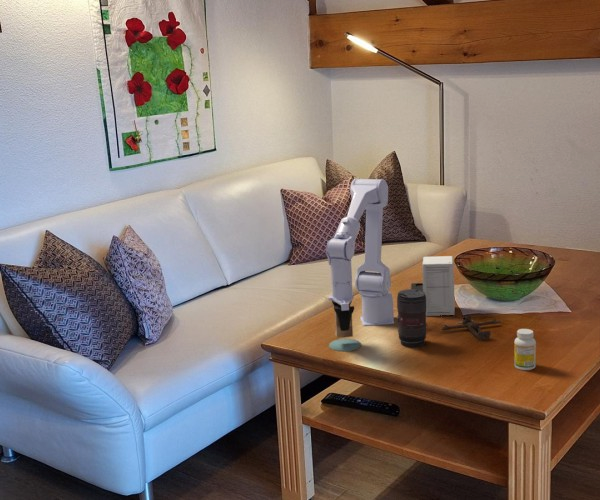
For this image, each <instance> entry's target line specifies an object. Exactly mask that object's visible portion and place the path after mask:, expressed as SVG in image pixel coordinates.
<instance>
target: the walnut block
mask: <svg viewBox="0 0 600 500" xmlns="http://www.w3.org/2000/svg"><path fill="white" fill-rule="evenodd" d="M334 321H335V325H334V326H335V327H334V328H335V332H336V334H335V336H336V335H337V336H336V338H337V339H341V338H351V337H352V338H353V337H354V334H353V333H354V332H353V315H352V316H351V320H350V326H349V330H346V331H341V328H340V324H339V319H338V316H337V314H336V312H335V311H334Z"/></svg>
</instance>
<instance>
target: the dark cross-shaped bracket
mask: <svg viewBox="0 0 600 500" xmlns="http://www.w3.org/2000/svg"><path fill="white" fill-rule="evenodd" d="M500 323H501V321H500V320H498V319H496V318H494V319H492V320H490V321H483V322H482V321H481V322H479V321H478V322H475V321H474V320H473V319H472V316H471V315H469V314H467V315H466V316H464V317H463V318H462V320H460V321H458V324H459V325H447V324H445V325H444V326H443V327H441V331H449V330H450V331H451V330H456V329H457V330H458V329H467V330H468V331H469V332H470V333H472V334H473V335H474V337H476V338H477V339H478V340H479V341H484V340H485V341H488V339H489V340H490V336H491V330H485V331H483V330H482V329H481V328H480V327H482V326H488V325H496V324H500Z"/></svg>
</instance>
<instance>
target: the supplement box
mask: <svg viewBox="0 0 600 500" xmlns="http://www.w3.org/2000/svg"><path fill="white" fill-rule="evenodd" d="M421 268H422V283H423V291H424V292H425V294H426V317H443V316H442V315H454V316H455V307H456V306H455V278H454V277H455V275H454V261H453V255H443V256H439V255H438V256H423V257H422V267H421ZM440 315H441V316H440Z"/></svg>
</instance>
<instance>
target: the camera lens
mask: <svg viewBox="0 0 600 500" xmlns="http://www.w3.org/2000/svg"><path fill="white" fill-rule="evenodd" d="M396 308H397V309H396V310H397V316H396V323H397V333H398V338H399V340H400V345H402V346H403V347H407V348H419V347H423V346H424V345H425V343H426V338H427V316H426V294H425V292H424V291H421V290H417V289H411V288H408V289H407V288H406V289H401V290H400V291H399V290H398V292H397V297H396Z"/></svg>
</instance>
